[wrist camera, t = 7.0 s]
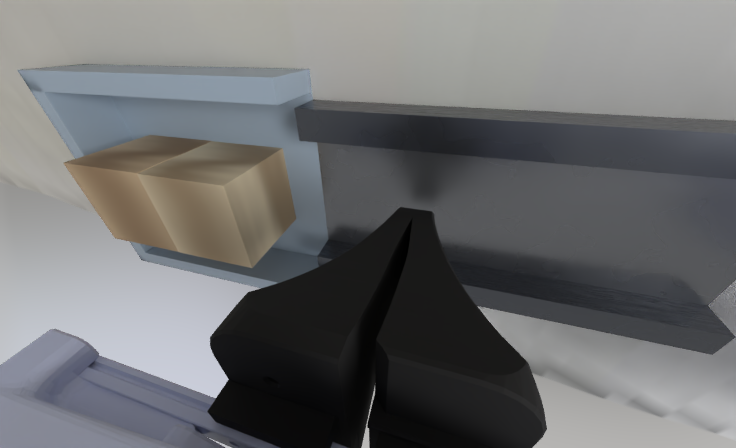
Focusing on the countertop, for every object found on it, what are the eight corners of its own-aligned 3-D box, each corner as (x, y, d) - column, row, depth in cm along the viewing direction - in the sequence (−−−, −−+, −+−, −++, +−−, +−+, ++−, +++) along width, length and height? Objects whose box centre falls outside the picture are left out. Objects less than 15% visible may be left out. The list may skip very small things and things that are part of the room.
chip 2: (282, 148, 13) (223, 185, 10) (296, 218, 15) (252, 268, 12) (211, 141, 14) (136, 173, 10) (234, 209, 16) (178, 252, 13)
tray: (314, 67, 11) (272, 77, 8) (334, 263, 17) (314, 300, 15) (94, 63, 14) (17, 69, 11) (180, 233, 20) (141, 260, 17)
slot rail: (876, 124, 8) (985, 148, 6) (680, 313, 12) (712, 354, 11) (317, 98, 11) (294, 108, 10) (333, 249, 16) (319, 273, 15)
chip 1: (211, 140, 14) (136, 173, 10) (234, 208, 16) (178, 252, 13) (149, 134, 15) (63, 163, 11) (179, 199, 17) (115, 238, 14)
